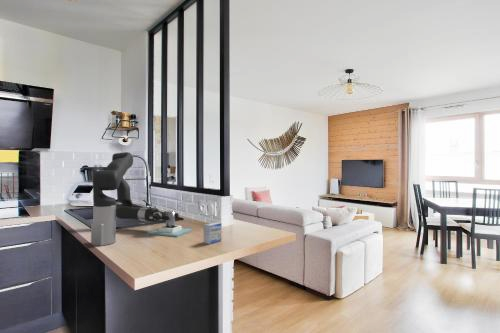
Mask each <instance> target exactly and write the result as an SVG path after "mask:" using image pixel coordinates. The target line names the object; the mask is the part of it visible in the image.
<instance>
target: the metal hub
mask: <svg viewBox="0 0 500 333" xmlns="http://www.w3.org/2000/svg"><path fill="white" fill-rule="evenodd" d="M166 211H167V212H166V216H169V220H165V225H166V228H171V229H172V228H175V225H176V217H175V213H176V212H175V211H174V210H166Z"/></svg>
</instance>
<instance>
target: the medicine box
mask: <svg viewBox="0 0 500 333" xmlns="http://www.w3.org/2000/svg"><path fill="white" fill-rule="evenodd" d="M202 231H203V235H202V236H203V237H202V238H203V239H202V240H203V243H204V244H207V245H212V244H216V243H219V242H222V223H221V222H219V221H218V222H217V221H216V222H215V221H214V222H210V223H207V224H203V230H202Z"/></svg>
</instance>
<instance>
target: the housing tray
mask: <svg viewBox="0 0 500 333" xmlns="http://www.w3.org/2000/svg"><path fill="white" fill-rule="evenodd" d="M192 231H193V229H192V228H187V227H186V228H184V227H182V225H177V224H175V228H172V229H171V228H166V224H165V225H163V226H160V227H158V228H156V229H155V228H154V229H152V230H149V231H147V234H148V235H153V236H154V235H156V236H163V237H164V236H165V237H173V238H179V237H181V236H184V235H186V234H188V233H190V232H191V233H192Z"/></svg>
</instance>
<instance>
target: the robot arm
mask: <svg viewBox="0 0 500 333" xmlns="http://www.w3.org/2000/svg"><path fill="white" fill-rule="evenodd" d="M133 164H134V157H133V155H132V153H130V152H126V151H125V152H117V153H116V152H115V153H114V154H112V156H111V161H110V162H109V163H108V165H107V166H106V170H102V169H101V170H100V169H99V170H95V171H94V172H93V175H92V195H93V196H92V197H93V198H92V200H93V202H92V203H93V214H92V215H93V216H92V218H93V219H92V220H93V222H91V224H90V226H91V227H90V228H91V230H90V245H93V246H99V247H100V246H101V247H102V246H106V245H111V244H115V243H116V241H117V239H116V235H117V233H116V232H117V231H116V230H117V229H116V228H117V222H116V221H117V218H118V219H123V220H128V219H129V220H135V221H142V222H150V223H151V222H152V223H156V222H158V221H166V220H169V216H166V212H167V211H168V210H164V211H162V210H159V209H158V208H156V207H139V206H135V207H134V204H133V200H132V199H131V188H130V185H129V183H128V182H127V181H126V180H125V177H124V176H125V174H126V173H127V171H128V170H129V169H130V168H131V167H132V166H133ZM104 191H116V198H117V200H116V198H114V197H112V196H109V195H106V193H104ZM117 202H118V203H120V204H121V205H120V206H118V207H117ZM175 218H179V212H178V213H177V212H175Z"/></svg>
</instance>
